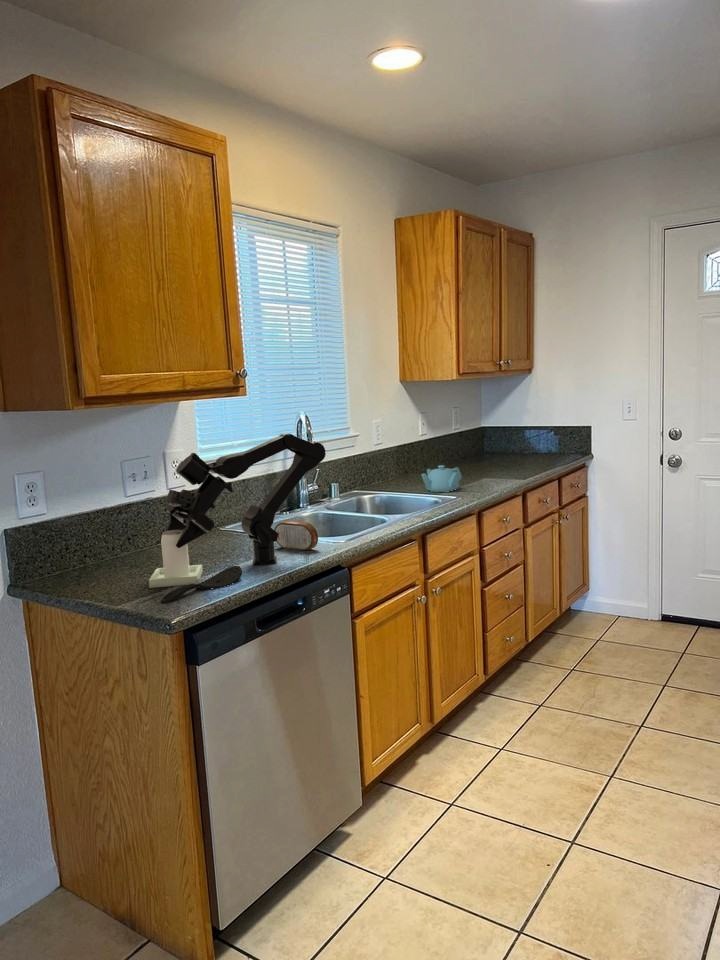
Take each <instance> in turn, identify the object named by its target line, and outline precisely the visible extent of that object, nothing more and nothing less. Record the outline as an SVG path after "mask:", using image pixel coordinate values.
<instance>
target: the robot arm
mask: <svg viewBox="0 0 720 960" xmlns="http://www.w3.org/2000/svg"><path fill="white" fill-rule="evenodd" d="M285 450H288V451H289V452H291V453H294V456H293V459H292V463H291V465H290V466H289V467H288V469H287V470H286V472H284V474H283V475H282V477H281V478H280V480H279V481H278V482H277V483H276V485H275V486H274V487H273V488H272V490H271V491H270V492H269V494H268V495H267V496H266V498H265V499H264V500H263V502H262V503H260V504H259V505H258V506H257V505H253V504H251V505H250V506H249V508H248V509H247V511H246V512H245V513H244V514H243V515H242V517H243V518H242V519H241V530H242V531H243V532H244V534H247V536H248V539H250V540H252V546H253V549H252V550H253V557H254V558H253V559H252V565H253V566H257V565H269V564H270V565H272V564H276V563H277V559H278V558H277V556H276V554H275V542H276V541H277V538H278V533H277V532H276V531H274V529H273V528H272V526H273V524H274V521H275V518H276V517H275V516H276V514H277V512H278V510H279V509H280V508H281V507H282V505H283V504H284V503H285V502H286V500H287V499H288V498H289V496H290V495H291V493H292V492H293V491H294V490H295V488H297V485H298V484H299V483H300V481H301V480H302V479H303V478H304V476H305V475H306V474H307V473H308V472H309V471H310V472H311V470H313V469H315V468H316V467H317V466H318V465H320V463H322V462H323V461H324V459H325V458H326V454H327V453H326V449H325V447H324V445H323V444H322V443H321V442H316V441H308V440H305V439H303V438H300V437H298V436H295V435H294V434H292V433H287V432H286V433H281V434H279V435H278V436H275V437H273V438H271V439H269V440H267V441H265V442H262V443H260V444H258V445H256V446H254V447H252V448H249V449H247V450H244V451H241V452H235V453H231V454H227V455H222V456H220V457H219V458H217V459H216V461H214V462H210V463H206V462H205V461H204V460H203V459H202V458H201V457H200V456H199V455H198V454H197V453H195V452H191V454H189V455H188V456H187V457H185V458H184V460H182V461H180V463H179V464H178V465H177V467H176V469H175V472H176V473H177V474H179V476H181V477H182V478H183V479H184V480H186V481H187V482H188V483H189V484H190V485H191V486H195V485H198V486H199V487H198V488H197V489H196V491H190V490H187V489H182V490H181V491H178V490H174V489H169V491H168V494H167V496H166V499H165V501H166V502H168V503H172V504H170V505H169V506H168V507H167V509H166V516H167V517H168V523H167V526H166V529H165V532H166V531H170V530H184V531H183V533H182V535H181V537H180V538H179V540H178V542H177V544H176V546H177V547H178V548H180V547H182V546H184V545H186V544H187V545H188V544H189V543H191V542H192V541H194V540H196V539H198V538H200V537H202V536H203V535H206V534H208V533H211V532H212V530H213V529H214V527H215V521H214V520H212V519H211V517H209V516H208V513H209V512H210V510H214V509H215V508H216V505H215V503H216V502H217V500H218V499H219V497H220V496H221V495H222V494H223V493H224V491H225V493H233V492H234V491H233V487H232V482H231V481H225V480H224V479H230V480H234V479H236V478H238V477H239V476H241V475H243V474H244V473H245V472H247V471H248V470H249V469H250V468H251V467H252V466H253V465H255V464H257V463H259V462H263V460H266V459H268V458H270V457H273V456H274V455H276V454H279V453H282V452H283V451H285ZM212 473H213V474H217V475H218V476H214V475H213V474H212ZM223 478H224V479H223Z"/></svg>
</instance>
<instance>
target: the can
mask: <svg viewBox="0 0 720 960" xmlns="http://www.w3.org/2000/svg"><path fill="white" fill-rule="evenodd" d="M184 530H185V529H184ZM184 530H170V531H166V530H165V531H163V532H161V534H162V536H161V538H160V542H161V553H162V554H161V555H162V563H163V564H162V565H163V568H164V576H165V578H169V577H181V576H189V575H190V568H189V566H190V557H189V548H188V543H187V544H186V545H184V546H182V547H180V548H178V547H177V546H176V544H177V542H178V540H179V538H180V537H181V535H182V533H183V531H184Z"/></svg>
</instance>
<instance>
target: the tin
mask: <svg viewBox="0 0 720 960" xmlns="http://www.w3.org/2000/svg"><path fill="white" fill-rule="evenodd" d="M273 530H274V531H276V532H277V533H278V538H277V541H275V542H276V543H277V544H278V545H279V547H281V548H282V549H286V550H294V551H295V550H296V551H302V550H307V551H310V550H312V548H313V549H314V548H316V547H317V545H318V542H319V535H318V531H317V529H316V528H315V526H314V525H313V524H312V523H310V522H308V521H302V520H301V521H299V520H298V521H297V520H288V519H285V520H282V521H281V522H279V523H277V524H276V526H275V527H274V529H273Z"/></svg>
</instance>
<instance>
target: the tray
mask: <svg viewBox="0 0 720 960" xmlns="http://www.w3.org/2000/svg"><path fill="white" fill-rule="evenodd" d="M189 568H190V575H189V576H181V577H169V578H165V576H164V567H158V568H156V569H155V570H154V572H153V573H152V574H151V576H150V578H149V579H148V587H149V589H152V588H164V587H176V586H186V585H189V584H199V583H198V582H200V581H201V577H202V575H203V571H204V570H203V569H204V568H203V564H195V565H189ZM197 579H199V580H197ZM196 580H197V582H196Z"/></svg>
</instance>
